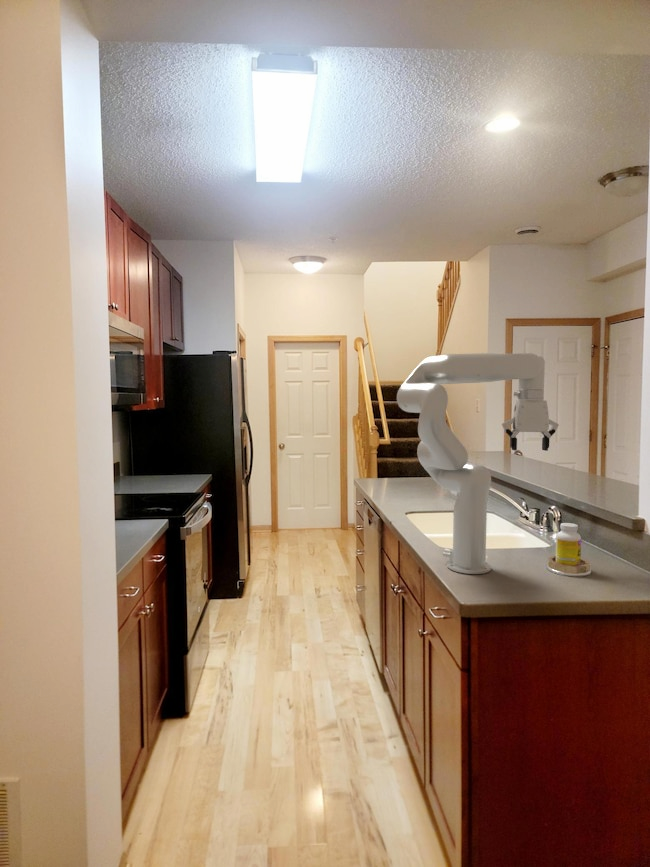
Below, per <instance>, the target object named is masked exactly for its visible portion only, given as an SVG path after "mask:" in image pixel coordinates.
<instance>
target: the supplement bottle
mask: <svg viewBox="0 0 650 867" xmlns="http://www.w3.org/2000/svg"><path fill="white" fill-rule="evenodd" d="M559 527H560V531H558V532H557V533H556V539H555V540H556V545H555V546H556V547H555V556H556V562H557V563H560V564H564V565H573V566H578V565H580V558H582V557H581V552H582V551H581V550H582V549H581V548H582V537H581V535H580V533H578V529H579V526H578V524H575V523H572V522H571V523H570V522H562V523H560V526H559Z"/></svg>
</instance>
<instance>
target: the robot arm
mask: <svg viewBox="0 0 650 867" xmlns="http://www.w3.org/2000/svg"><path fill="white" fill-rule="evenodd" d="M545 362H546V361H545V359H544V357H542V356H538V355H537V354H535V353H532V352H530V353H529V352H527V353H526V352H524V353H523V352H521V353H488V352H487V353H484V352H483V353H448V354H438V355H437V354H436V355H430V356H428V357H425V358H424V359H423V360H421V362H420V363H419V364H418V365H417V366H416V368H414V370H413V371H412V372H411V373H410V374H409V376H408V377H407V378H406V379H405V381H403V383H402V384H401V385H400V387H399V389H398V390H397V393H396V402H397V405H398V408H400V409H401V410H402V411H404V412H406V413H415V414H419V416H418V417H419V418H418V424H417V434H418V437H419V439H420V442H419V443H418V445H417V449H416V450H417V452H416V455H417V459H418V461H419V463H420V465H421V466H422V467H423V468H424V470H425V471H426V472H427V473H428V474H429V476H430V477H431V478H432V479H433V481H435V483H436V484H437V485H438V486H440V487H441V489H444V490H447V491H450V492H455V493H459V494H458V497H457V498H456V501H455V503H454V504H453V515H452V516H453V518H452V519H453V523H452V524H453V525H452V526H453V528H452V530H453V531H452V532H453V533H452V549H449V548H444V550H443V552H442V556H443V557H446V558H447V557H448V558H449V560H448V561H447V563H446V566H447V567H448V569H449V570H451V571H454V572H457V573H460V574H467V575H481V574H486V573H489V572H491V570H492V565H491V563H489V562H487V560H486V556H487V519H488V518H487V517H488V516H487V515H488V512H487V510H488V499H489V498H488V497H489V493H490V489H491V484H492V475H491V473H490V471H489V469H488V468H487V467H486V466H484V465H482V464H480V463H478V462H472V461H469V454H468V451H467V449H466V446H464V444H463V442H461V440H460V439H459V438H458V437H457V435H456V434H455V433H454V432H453V430H452V429H451V428H450V427H449V425H448V423H447V420H446V414H447V408H448V404H449V397H448V396H449V395H448V392H447V390H446V388H445V387H444V386H443V385H453V384H454V385H456V384H457V385H458V384H475V383H476V384H478V383H492V382H493V383H494V382H501V381H512V380H518V389H517V391H516V392H515V391H514V392H513V397H517V400H516V401H515V404H514V408H513V409H514V410H513V415H512V418H511V419H509V420H507V421H504V422H503V423H502V424H501V426H502V428H503V429H504V432H505V433H506V434H507V436H508V437H509V441H510V442H509V447H510V448H511V450H512V451H517V449H518V438H517V436H518V434H520V432H521V433H541V434H542V435H543V437H542V438H541V441H542V442H541V443H542V444H541V450H542V451H549V448H550V439H551V438H552V436H553V435H554V434H555V433H556V431H557V429H558V427H559V423H557V422H556V421H553V420H551V419H550V417H549V416H550V415H549V408H548V407H549V406H548V401H547V400H544V397H545V365H546V364H545ZM510 425H512V431H511V429H510V427H509V426H510ZM550 425H551V427H550V428H551V429H549V426H550Z"/></svg>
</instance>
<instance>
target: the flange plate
mask: <svg viewBox="0 0 650 867" xmlns="http://www.w3.org/2000/svg"><path fill="white" fill-rule="evenodd" d="M546 567H547V568H546V569H547V571H549V572H550V573H552V574H556V575H559V576H563V577H573V578H577V577H579V578H582V577H588V576H590V575H591V574H592V569H591V563H590V562H589V560H586V559H585V558H582V557H581V558H580V565H578V566H573V565H564V564H560V563H557V562H556V555H551V556H550V557H547V564H546Z"/></svg>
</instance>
